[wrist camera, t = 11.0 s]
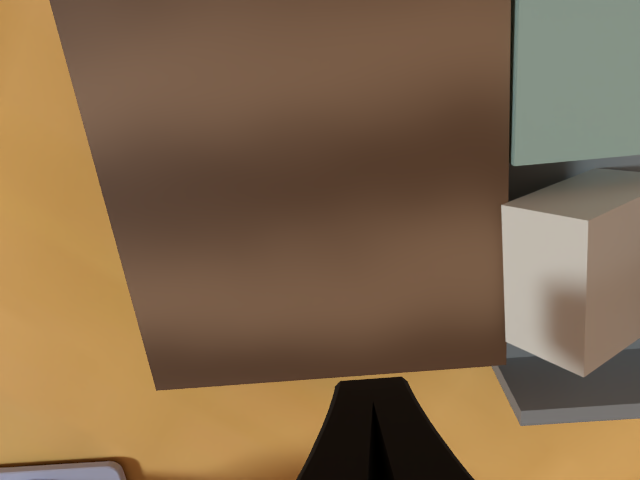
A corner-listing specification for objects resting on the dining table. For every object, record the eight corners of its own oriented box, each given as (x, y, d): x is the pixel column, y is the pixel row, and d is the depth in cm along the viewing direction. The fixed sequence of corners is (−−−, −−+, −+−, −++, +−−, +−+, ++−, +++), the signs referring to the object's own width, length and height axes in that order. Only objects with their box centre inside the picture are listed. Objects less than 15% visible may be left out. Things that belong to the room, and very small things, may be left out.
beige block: (590, 292, 18) (670, 316, 16) (505, 341, 16) (583, 377, 14) (594, 168, 16) (683, 176, 14) (500, 204, 14) (588, 220, 12)
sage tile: (633, 137, 16) (685, 150, 13) (488, 150, 16) (514, 166, 14) (650, -22, 14) (714, -39, 12) (490, -3, 15) (519, -16, 12)
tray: (683, 349, 19) (756, 410, 16) (489, 363, 20) (520, 425, 16) (746, -61, 14) (869, -99, 11) (489, -26, 15) (532, -52, 12)
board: (482, 320, 19) (506, 364, 16) (182, 344, 20) (156, 390, 17) (479, -62, 15) (512, -91, 12) (97, -8, 16) (43, -23, 13)
